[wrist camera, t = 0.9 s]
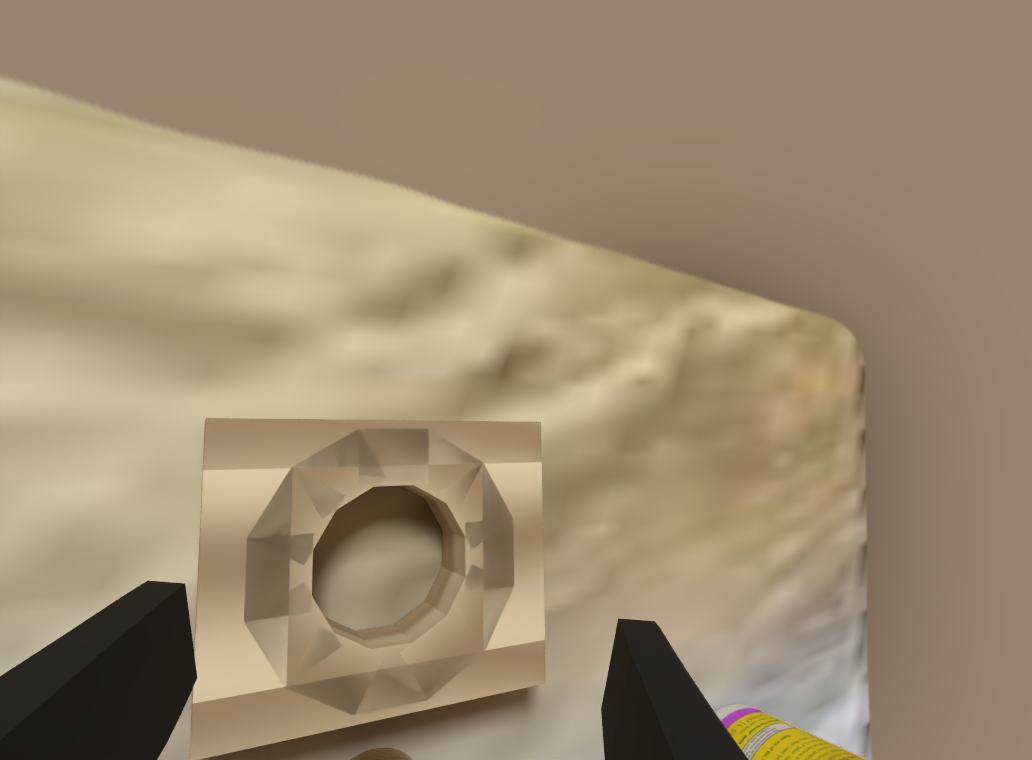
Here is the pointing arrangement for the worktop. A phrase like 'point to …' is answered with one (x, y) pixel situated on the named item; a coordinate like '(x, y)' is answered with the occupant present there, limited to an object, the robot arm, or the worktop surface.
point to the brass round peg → (382, 755)
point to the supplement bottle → (776, 737)
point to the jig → (289, 561)
